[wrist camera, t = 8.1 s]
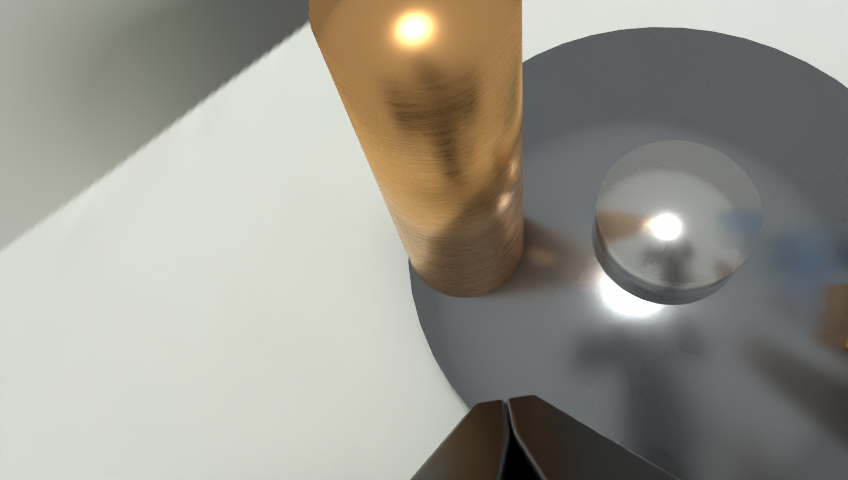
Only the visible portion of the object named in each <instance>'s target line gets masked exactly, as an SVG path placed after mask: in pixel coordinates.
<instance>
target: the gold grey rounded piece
mask: <svg viewBox="0 0 848 480" xmlns="http://www.w3.org/2000/svg"><path fill="white" fill-rule="evenodd" d="M309 20H310V24H311V29H312V31H313V34H314V36H315V38H316V41H317V43H318V46H319V48H320V50H321V53H322V55H323V57H324V60H325V62H326V64H327V67H328V69H329V71H330V74H331V76H332V78H333V81H334V83H335V85H336V88H337V90H338V92H339V95H340V97H341V99H342V102H343V104H344V107H345V109H346V111H347V114H348V116H349V118H350V121H351V123H352V125H353V128H354V130H355V132H356V135H357V137H358V139H359V142H360V144H361V146H362V149H363V151H364V153H365V156H366V158H367V161H368V163H369V165H370V168H371V170H372V172H373V175H374V177H375V179H376V182H377V184H378V186H379V189H380V191H381V193H382V196H383V198H384V200H385V203H386V205H387V207H388V210H389V212H390V215H391V217H392V219H393V222H394V224H395V226H396V229H397V231H398V233H399V236H400V238H401V240H402V243H403V245H404V247H405V250H406V252H407V254H408V257H409V262H408V263H409V271H410V279H411V287H412V294H413V298H414V302H415V306H416V309H417V313H418V317H419V321H420V324H421V327H422V329H423V332H424V334H425V336H426V339H427V341H428V344H429V346H430V348H431V351H432V353H433V356H434V357H435V359H436V361H437V363H438V365H439V367H440V369H441V370H442V372H443V374H444V375H445V377H446V379H447V381H448V382H449V384H450V386H451V387H452V389H453V391H454V393H455V394H456V396H457V397H458V398H459V399H460V401H461V402H462V403H463V405H464V406H465V407H466V408H467V410H468V411H470V409H471V408H472V407H473V406H474V405H475V404H477V403H480V402H486V401H493V400H503V401H504V402H505V404H506V402H507V400H508V399H509V398H513V397H519V396H526V395H536V396H538V397H540V398H541V399H543V400H545V401H546V402H548V403H550V404H552V405H553V406H555V407H557V408H558V409H560V410H562V411H564V412H565V413H567V414H569V415H570V416H572V417H574V418H576V419H577V420H579V421H581V422H582V423H584V424H586V425H588V426H589V427H591V428H593V429H594V430H596V431H598V432H600V433H601V434H603V435H605V436H606V437H608V438H610V439H612V440H613V441H615V442H617V443H618V444H620V445H622V446H624V447H625V448H627V449H629V450H630V451H632V452H634V453H636V454H637V455H639V456H641V457H642V458H644V459H646V460H647V461H649V462H651V463H653V464H654V465H656V466H658V467H659V468H661V469H663V470H665V471H666V472H668V473H670V474H671V475H673V476H675V477H677V478H678V479H680V480H848V88H847V87H845V86H844V85H843V84H841V83H840V82H839V81H837V80H836V79H834V78H832V77H831V76H829V75H827V74H826V73H824V72H822V71H820V70H819V69H817V68H815V67H814V66H812V65H810V64H808V63H807V62H804V61H802V60H800V59H798V58H796V57H793V56H791V55H789V54H787V53H784V52H782V51H780V50H778V49H775V48H772V47H769V46H766V45H763V44H760V43H757V42H754V41H751V40H748V39H745V38H740V37H736V36H731V35H727V34H722V33H718V32H712V31H704V30H696V29H687V28H661V27H649V28H637V29H625V30H617V31H612V32H607V33H601V34H596V35H591V36H588V37H584V38H581V39H577V40H574V41H571V42H567V43H564V44H561V45H559V46H557V47H554V48H552V49H550V50H547V51H545V52H542V53H540V54H538V55H535V56H534V57H532V58H530V59H528V60H527V61H525V62H523V63H522V0H309ZM506 409H507V407H506ZM507 414H508V413H507Z"/></svg>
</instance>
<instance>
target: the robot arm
mask: <svg viewBox="0 0 848 480" xmlns="http://www.w3.org/2000/svg"><path fill="white" fill-rule="evenodd" d="M506 407H507V409H506ZM507 413H508V414H507ZM410 480H680V479H678V478H677V477H675V476H673V475H671V474H670V473H668V472H666V471H665V470H663V469H661V468H659V467H658V466H656V465H654V464H653V463H651V462H649V461H647V460H646V459H644V458H642V457H641V456H639V455H637V454H636V453H634V452H632V451H630V450H629V449H627V448H625V447H624V446H622V445H620V444H618V443H617V442H615V441H613V440H612V439H610V438H608V437H606V436H605V435H603V434H601V433H600V432H598V431H596V430H594V429H593V428H591V427H589V426H588V425H586V424H584V423H582V422H581V421H579V420H577V419H576V418H574V417H572V416H570V415H569V414H567V413H565V412H564V411H562V410H560V409H558V408H557V407H555V406H553V405H552V404H550V403H548V402H546V401H545V400H543V399H541V398H540V397H538V396H536V395H526V396H519V397H513V398H509V399H508V400H507V402H506V404H505V402H504V401H503V400H493V401H486V402H480V403H477V404H475V405H474V406H473V407H472V408H471V409H470V411H469V412H468V413H467V414H466V415H465V416H464V418H463V419H462V420H461V421H460V422H459V423H458V425H457V426H456V427H455V428H454V429H453V430H452V432H451V433H450V434H449V435H448V436H447V437H446V439H445V440H444V441H443V442H442V443H441V444H440V446H439V447H438V448H437V449H436V450H435V451H434V453H433V454H432V455H431V456H430V457H429V458H428V460H427V461H426V462H425V463H424V464H423V465H422V467H421V468H420V469H419V470H418V471H417V472H416V474H415V475H414V476H413V477H412V478H411V479H410Z"/></svg>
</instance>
